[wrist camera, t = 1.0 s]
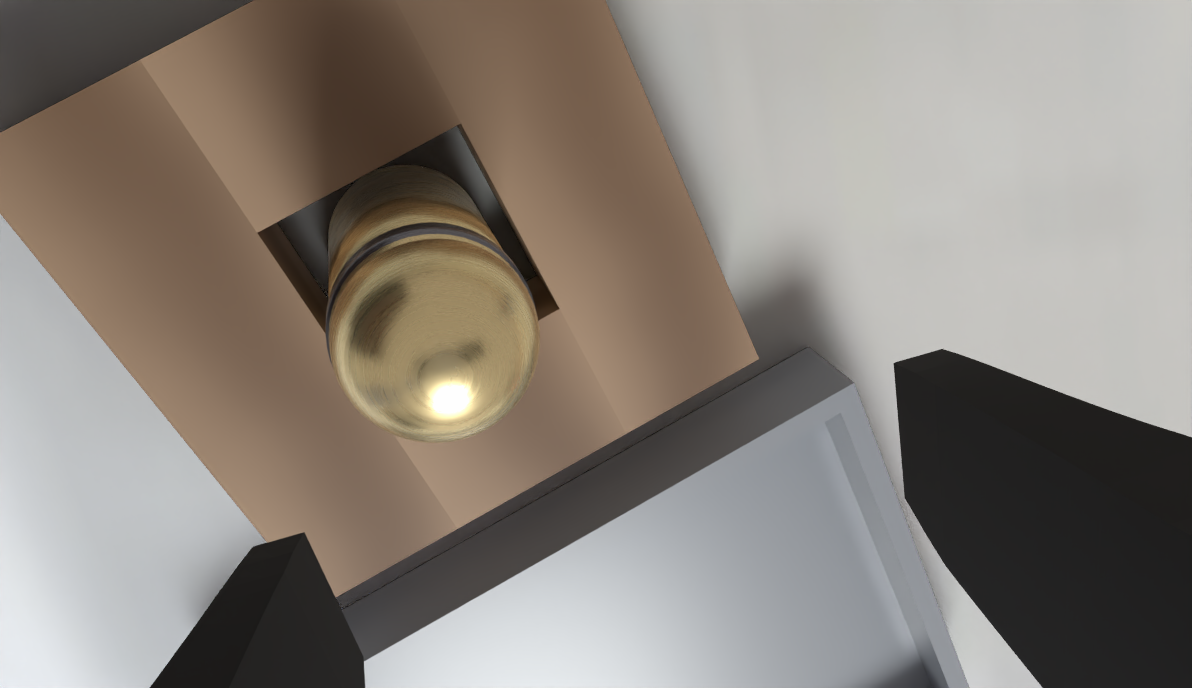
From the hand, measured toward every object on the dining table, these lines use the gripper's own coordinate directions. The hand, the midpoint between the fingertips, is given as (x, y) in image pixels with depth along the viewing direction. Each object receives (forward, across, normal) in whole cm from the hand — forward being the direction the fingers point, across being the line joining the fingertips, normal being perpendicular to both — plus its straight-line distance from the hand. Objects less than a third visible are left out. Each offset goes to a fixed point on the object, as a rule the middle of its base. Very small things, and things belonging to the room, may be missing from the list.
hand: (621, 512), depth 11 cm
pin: (+12, +3, 0) cm, 13 cm away
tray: (+12, +1, +15) cm, 19 cm away
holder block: (+12, +3, 0) cm, 13 cm away
